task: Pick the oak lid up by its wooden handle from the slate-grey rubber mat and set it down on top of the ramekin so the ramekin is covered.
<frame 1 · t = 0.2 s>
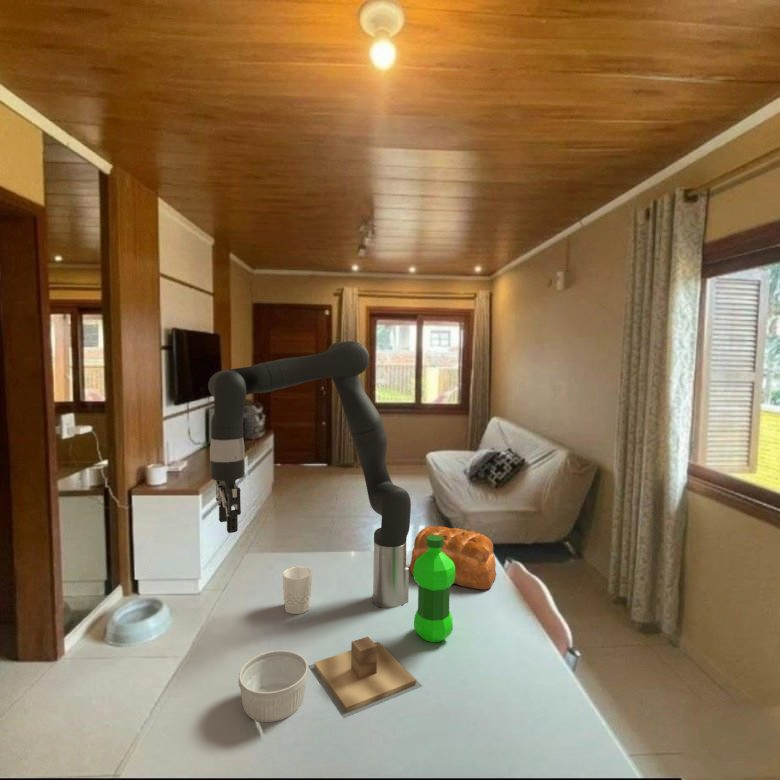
hand: (228, 526, 111), 29 cm above the table, fingers open, 8 cm apart
white cup: (297, 608, 131), on the table
ramekin: (273, 705, 94), on the table
plastic bottle: (433, 638, 118), on the table
bread: (452, 577, 153), on the table
oak lid: (363, 675, 102), resting on grey mat
grey mat: (363, 677, 102), on the table
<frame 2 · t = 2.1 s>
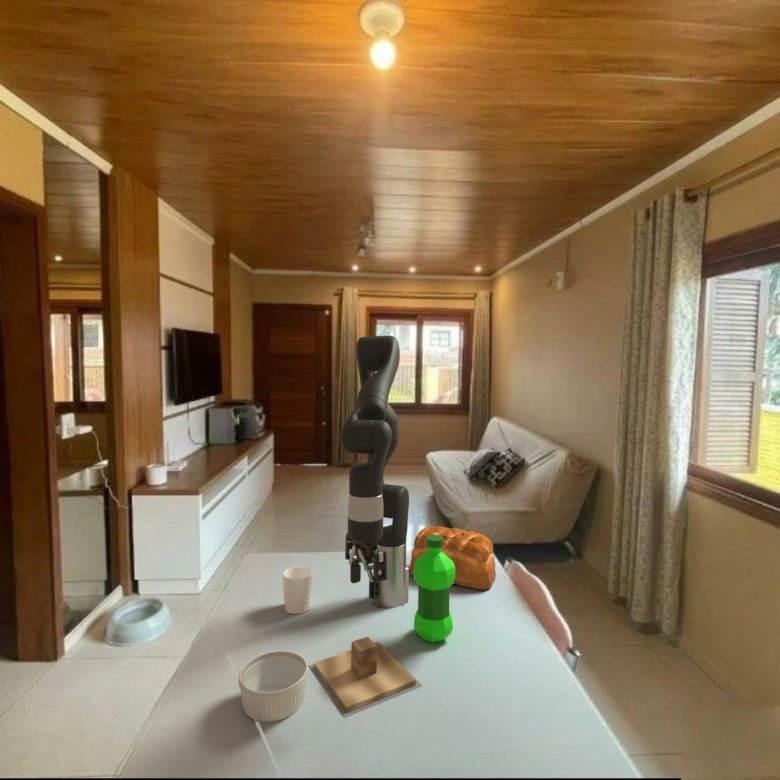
hand: (364, 589, 101), 19 cm above the table, fingers open, 8 cm apart
nothing on the table moved.
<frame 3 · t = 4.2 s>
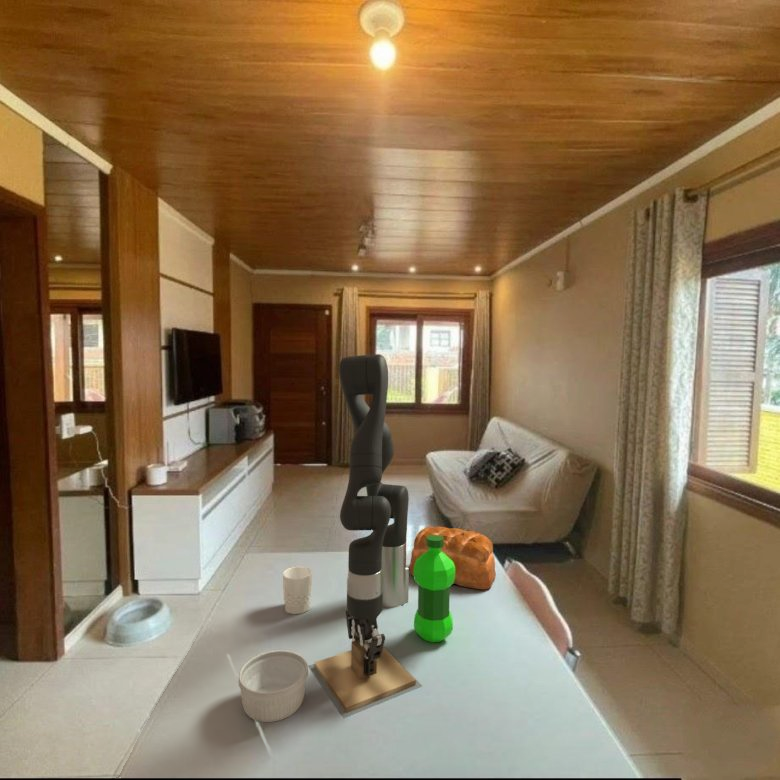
hand: (363, 667, 102), 2 cm above the table, fingers closed on oak lid, 4 cm apart
oak lid: (363, 675, 102), resting on grey mat, touching gripper
everything else where it was.
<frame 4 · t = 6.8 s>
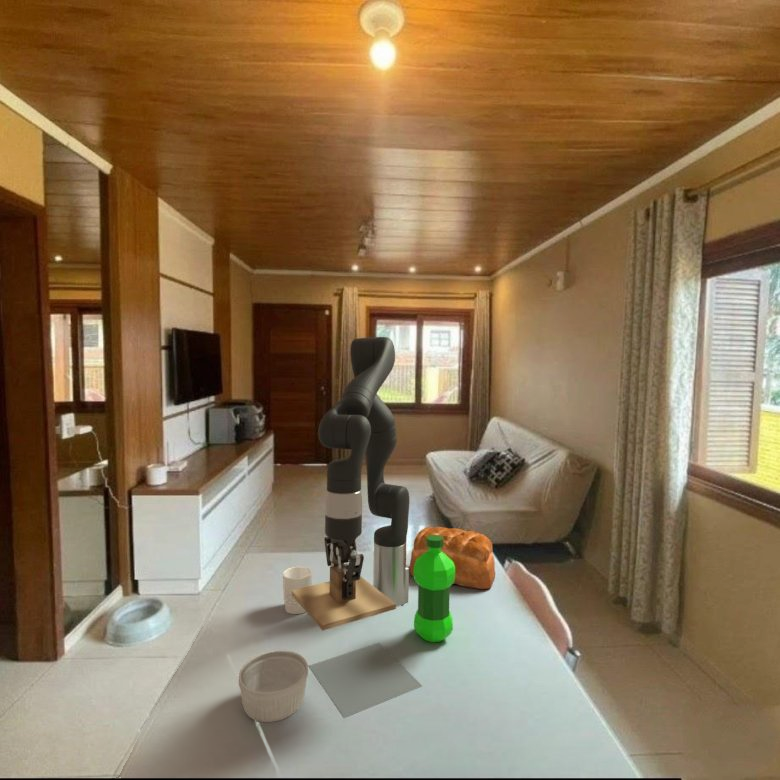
hand: (342, 593, 99), 20 cm above the table, fingers closed on oak lid, 4 cm apart
oak lid: (342, 601, 99), point 18 cm above the table, touching gripper
everything else where it was.
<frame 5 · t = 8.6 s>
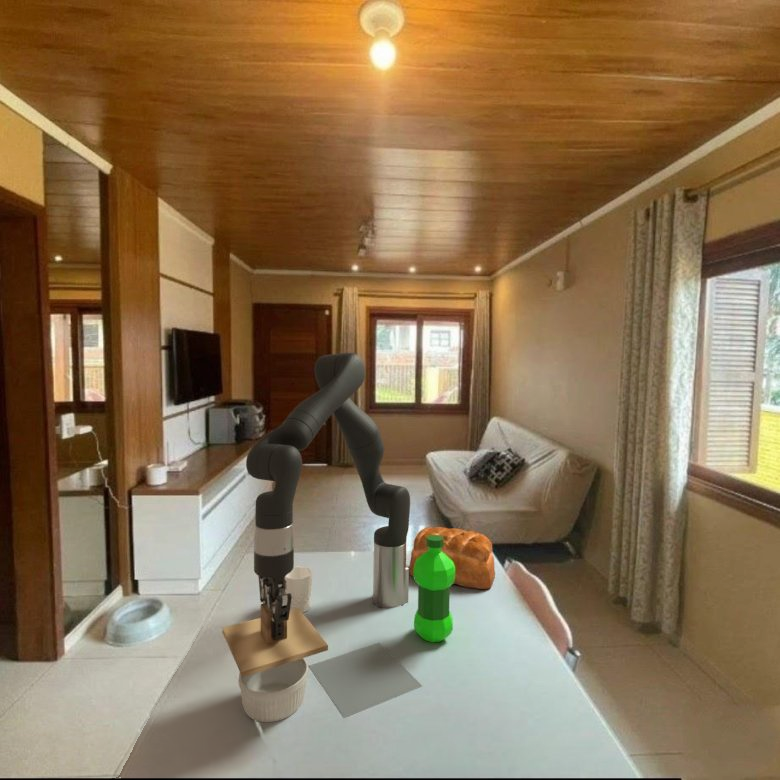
hand: (273, 632, 93), 14 cm above the table, fingers closed on oak lid, 4 cm apart
oak lid: (273, 641, 93), point 13 cm above the table, touching gripper
everything else where it was.
when the fingers open (10 cm above the table, at t = 9.7 s): oak lid drops 2 cm, resting on ramekin.
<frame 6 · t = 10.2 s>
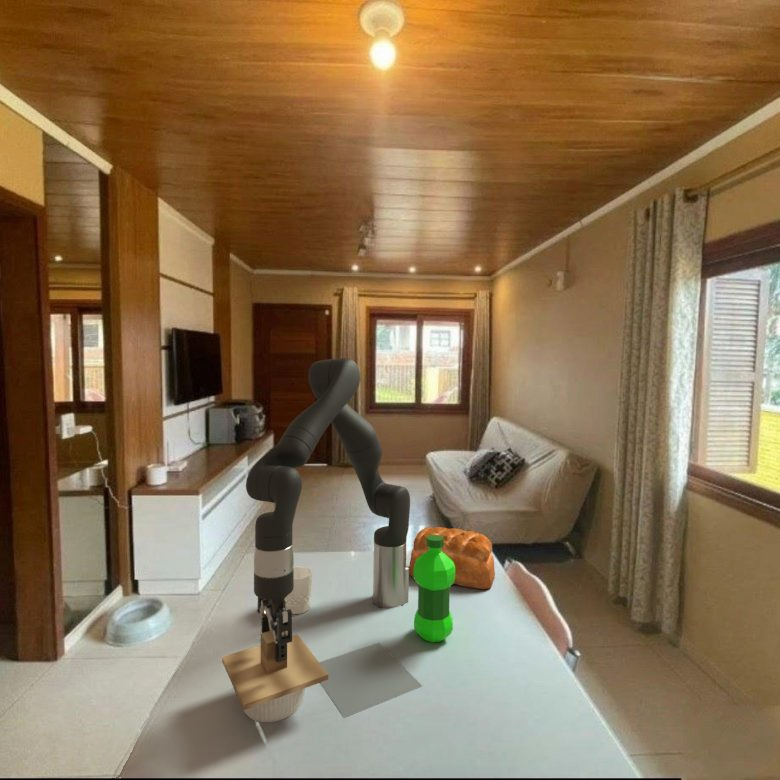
hand: (273, 648, 93), 11 cm above the table, fingers open, 8 cm apart
ramekin: (273, 705, 94), on the table, touching oak lid
oak lid: (273, 670, 94), point 7 cm above the table, touching ramekin
everything else where it was.
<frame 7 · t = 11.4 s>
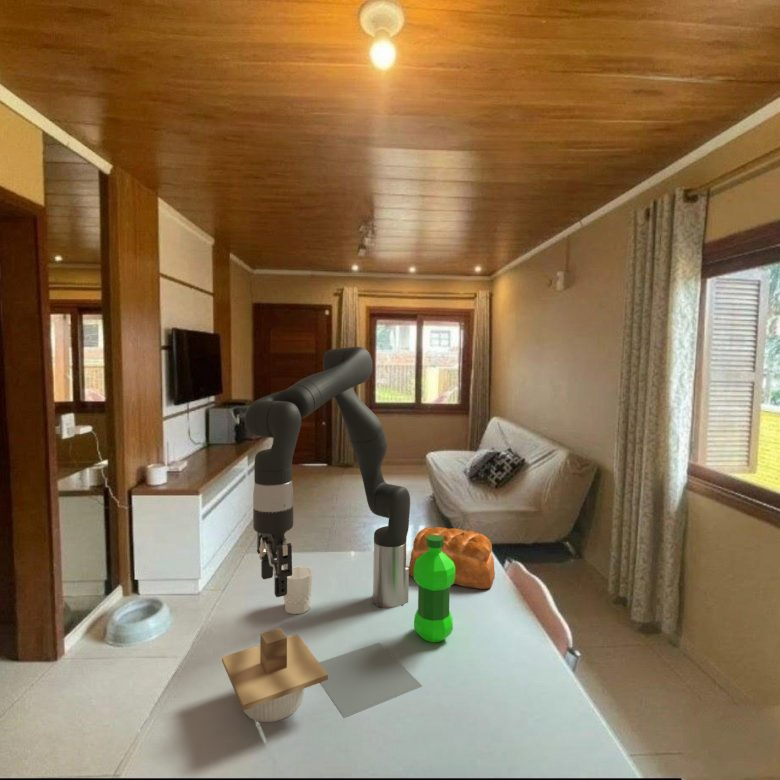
hand: (273, 586, 93), 24 cm above the table, fingers open, 8 cm apart
nothing on the table moved.
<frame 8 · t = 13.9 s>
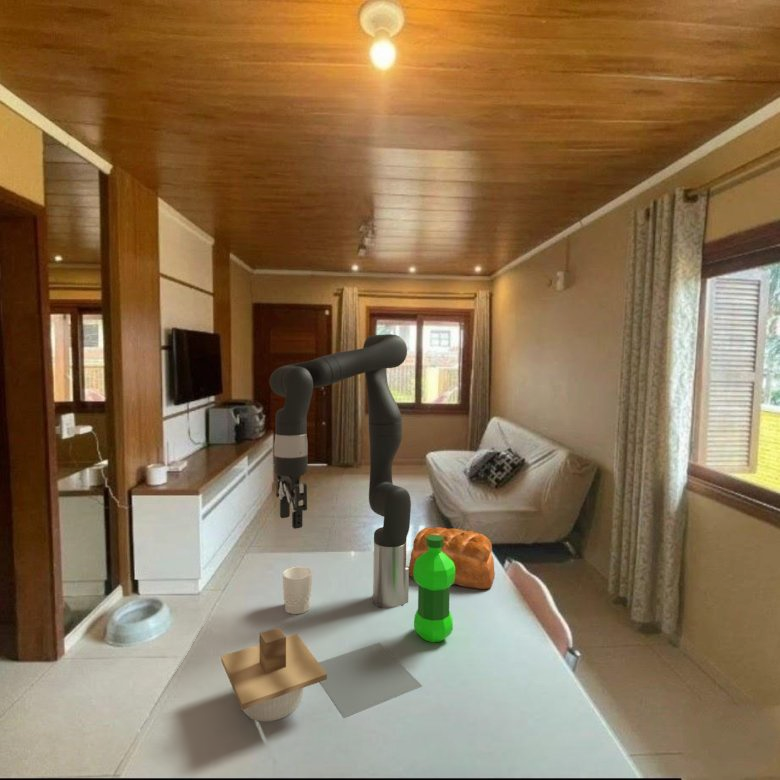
hand: (290, 522, 111), 30 cm above the table, fingers open, 8 cm apart
nothing on the table moved.
at the end: oak lid 0.1 cm off-centre on the ramekin, point 7.1 cm above the ramekin's base; oak lid touching ramekin; oak lid tilted 0° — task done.
